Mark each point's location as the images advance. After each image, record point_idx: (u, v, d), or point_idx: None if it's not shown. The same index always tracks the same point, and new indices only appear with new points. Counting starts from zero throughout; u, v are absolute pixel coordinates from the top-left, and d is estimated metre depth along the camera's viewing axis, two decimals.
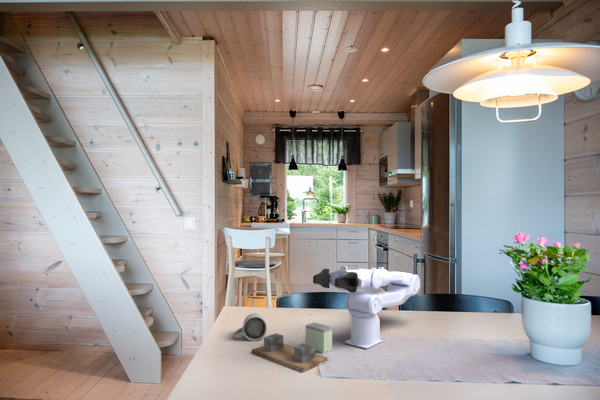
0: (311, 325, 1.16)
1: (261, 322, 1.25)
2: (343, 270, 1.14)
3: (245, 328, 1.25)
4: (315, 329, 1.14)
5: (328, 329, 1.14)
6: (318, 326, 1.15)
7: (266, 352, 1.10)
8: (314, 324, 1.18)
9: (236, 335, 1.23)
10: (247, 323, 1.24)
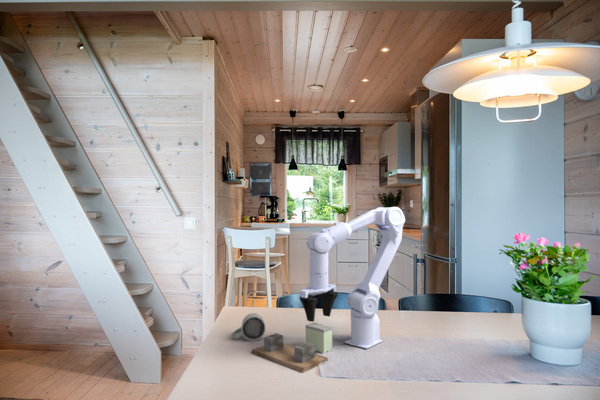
0: (311, 325, 1.17)
1: (260, 322, 1.25)
2: None
3: (244, 328, 1.25)
4: (315, 329, 1.14)
5: (328, 329, 1.14)
6: (318, 326, 1.15)
7: (266, 352, 1.10)
8: (314, 324, 1.18)
9: (235, 335, 1.23)
10: (246, 323, 1.24)
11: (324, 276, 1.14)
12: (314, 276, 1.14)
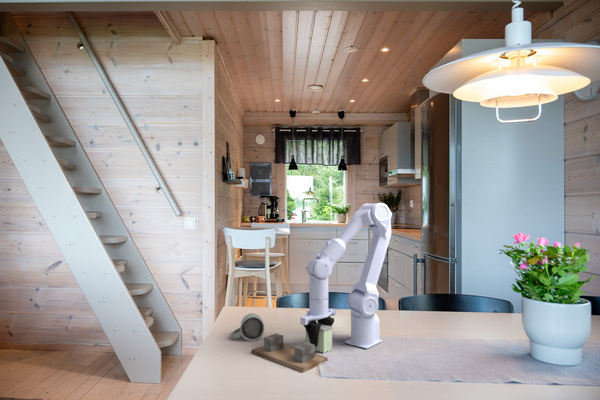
0: None
1: (259, 322, 1.25)
2: None
3: (243, 328, 1.25)
4: None
5: (328, 329, 1.14)
6: None
7: (266, 352, 1.10)
8: None
9: (234, 335, 1.23)
10: (245, 323, 1.24)
11: (324, 302, 1.14)
12: (314, 302, 1.14)
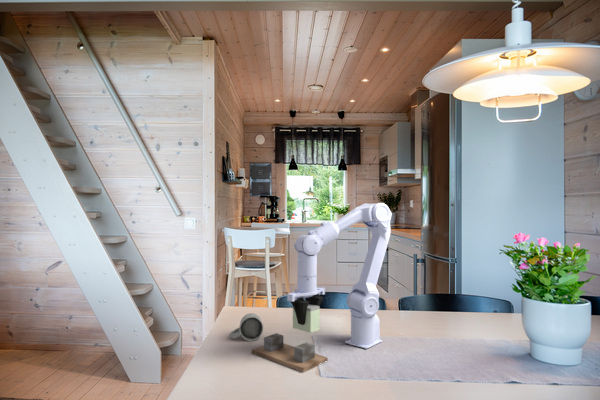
0: None
1: (258, 322, 1.25)
2: None
3: (242, 328, 1.25)
4: None
5: (315, 308, 1.11)
6: None
7: (266, 352, 1.10)
8: None
9: (233, 335, 1.23)
10: (244, 323, 1.24)
11: (312, 279, 1.11)
12: (302, 279, 1.11)
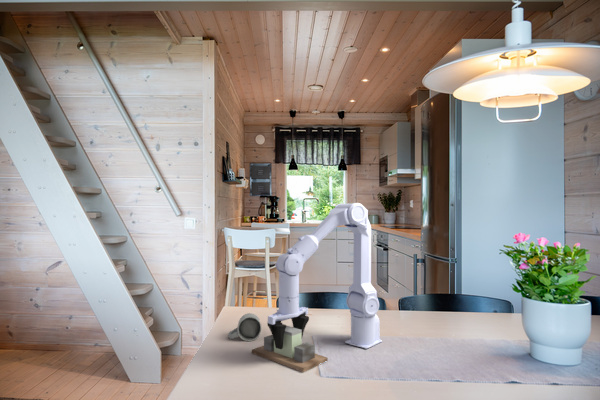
0: None
1: (256, 322, 1.25)
2: None
3: (240, 328, 1.25)
4: None
5: (297, 332, 1.07)
6: (286, 329, 1.09)
7: (266, 352, 1.10)
8: None
9: (231, 335, 1.23)
10: (242, 323, 1.24)
11: (294, 300, 1.07)
12: (283, 300, 1.07)
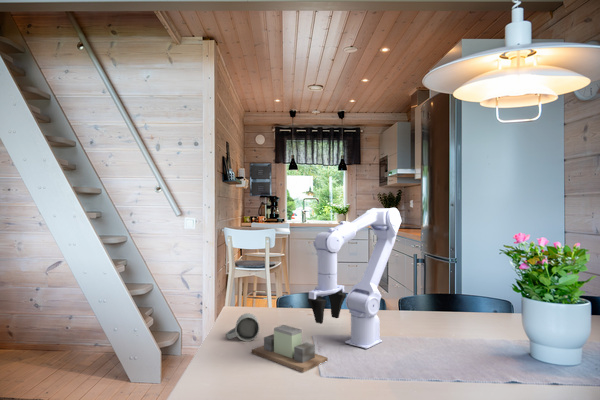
0: (280, 328, 1.10)
1: (254, 322, 1.24)
2: None
3: (238, 328, 1.24)
4: (283, 332, 1.08)
5: (297, 332, 1.07)
6: (286, 329, 1.09)
7: (266, 352, 1.10)
8: (283, 327, 1.11)
9: (229, 335, 1.23)
10: (240, 323, 1.24)
11: (333, 277, 1.11)
12: (322, 277, 1.11)
